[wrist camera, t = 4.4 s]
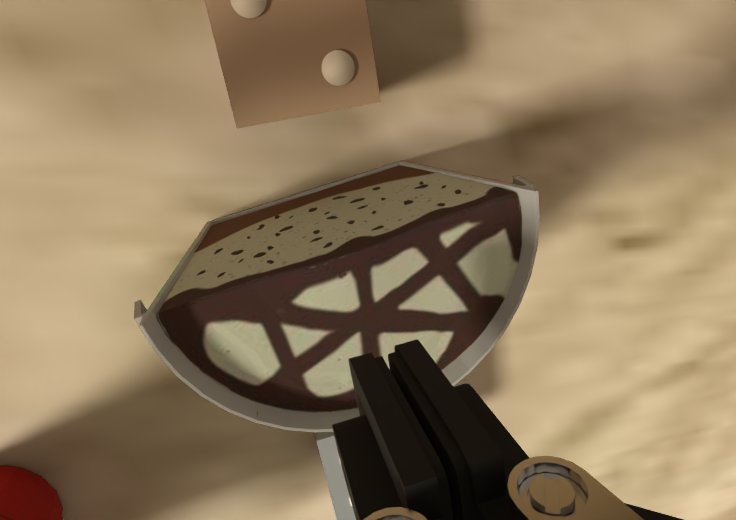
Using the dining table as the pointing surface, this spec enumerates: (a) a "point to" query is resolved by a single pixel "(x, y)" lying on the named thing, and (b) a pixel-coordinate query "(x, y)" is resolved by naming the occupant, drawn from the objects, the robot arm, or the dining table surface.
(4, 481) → the plastic cup
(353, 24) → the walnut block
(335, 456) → the slate-grey block
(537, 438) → the dining table surface
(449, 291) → the food container
